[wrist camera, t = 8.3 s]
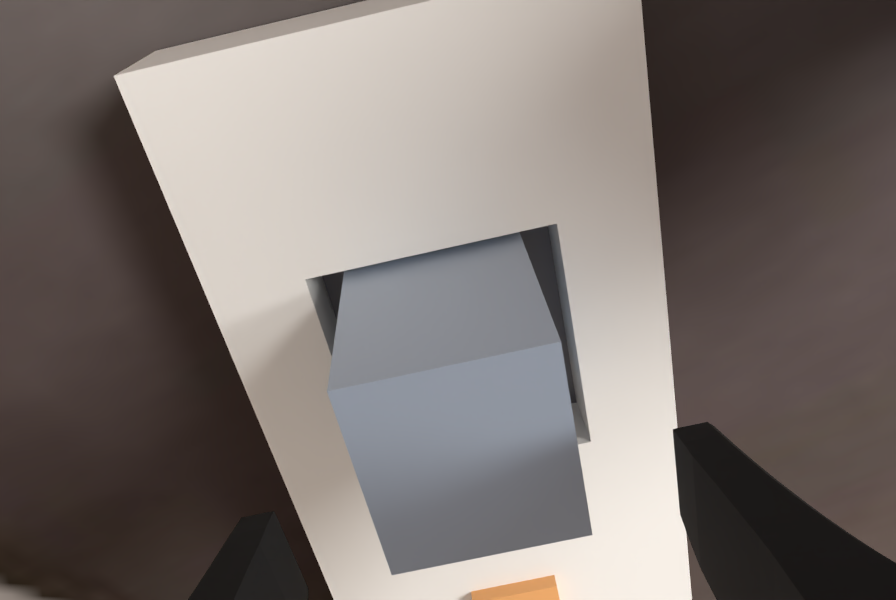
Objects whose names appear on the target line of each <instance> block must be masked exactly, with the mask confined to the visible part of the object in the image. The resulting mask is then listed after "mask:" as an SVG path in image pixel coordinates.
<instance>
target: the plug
mask: <svg viewBox="0 0 896 600" xmlns="http://www.w3.org/2000/svg"><path fill="white" fill-rule="evenodd" d="M327 393H328V396H329V399H330V402H331V404H332V407H333V410H334V413H335V416H336V419H337V421H338V424H339V427H340V430H341V433H342V436H343V438H344V441H345V444H346V447H347V450H348V453H349V455H350V458H351V461H352V464H353V467H354V470H355V472H356V475H357V478H358V481H359V484H360V487H361V489H362V492H363V495H364V498H365V501H366V504H367V506H368V509H369V512H370V515H371V518H372V521H373V523H374V526H375V529H376V532H377V535H378V538H379V540H380V543H381V546H382V549H383V552H384V555H385V557H386V560H387V563H388V566H389V569H390V572H391V574H392V575H396V574H401V573H406V572H411V571H416V570H421V569H426V568H431V567H436V566H441V565H446V564H451V563H456V562H461V561H466V560H471V559H476V558H481V557H486V556H491V555H496V554H501V553H506V552H511V551H516V550H521V549H526V548H531V547H536V546H541V545H546V544H551V543H556V542H560V541H565V540H570V539H575V538H580V537H585V536H590V535H593V534H592V528H591V522H590V516H589V510H588V504H587V498H586V491H585V485H584V479H583V473H582V467H581V461H580V455H579V449H578V442H577V436H576V430H575V424H574V418H573V412H572V406H571V399H570V393H569V387H568V381H567V375H566V369H565V363H564V357H563V350H562V344H561V340H560V338H559V335H558V332H557V330H556V327H555V324H554V322H553V319H552V317H551V314H550V311H549V309H548V306H547V303H546V301H545V298H544V295H543V293H542V290H541V288H540V285H539V282H538V280H537V277H536V274H535V272H534V269H533V267H532V264H531V261H530V259H529V256H528V253H527V251H526V248H525V246H524V243H523V240H522V238H521V235H520V232H517V233H512V234H508V235H503V236H499V237H494V238H490V239H485V240H481V241H476V242H472V243H467V244H463V245H458V246H454V247H449V248H445V249H440V250H436V251H431V252H427V253H422V254H418V255H413V256H409V257H404V258H400V259H395V260H391V261H386V262H382V263H377V264H373V265H368V266H364V267H359V268H355V269H350V270H346V271H344V276H343V283H342V290H341V297H340V304H339V311H338V318H337V325H336V332H335V339H334V346H333V353H332V360H331V367H330V374H329V381H328V388H327Z"/></svg>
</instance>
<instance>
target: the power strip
mask: <svg viewBox="0 0 896 600" xmlns="http://www.w3.org/2000/svg"><path fill="white" fill-rule="evenodd" d="M114 78H115V80H116V83H117V85H118V88H119V90H120V92H121V95H122V97H123V99H124V102H125V104H126V107H127V109H128V111H129V114H130V116H131V118H132V121H133V123H134V126H135V128H136V130H137V133H138V135H139V138H140V140H141V142H142V145H143V147H144V149H145V152H146V154H147V157H148V159H149V161H150V164H151V166H152V168H153V171H154V173H155V176H156V178H157V180H158V183H159V185H160V188H161V190H162V192H163V195H164V197H165V199H166V202H167V204H168V207H169V209H170V211H171V214H172V216H173V218H174V221H175V223H176V226H177V228H178V230H179V233H180V235H181V237H182V240H183V242H184V245H185V247H186V249H187V252H188V254H189V257H190V259H191V261H192V264H193V266H194V268H195V271H196V273H197V276H198V278H199V280H200V283H201V285H202V287H203V290H204V292H205V295H206V297H207V299H208V302H209V304H210V306H211V309H212V311H213V314H214V316H215V318H216V321H217V323H218V326H219V328H220V330H221V333H222V335H223V337H224V340H225V342H226V345H227V347H228V349H229V352H230V354H231V356H232V359H233V361H234V364H235V366H236V368H237V371H238V373H239V376H240V378H241V380H242V383H243V385H244V387H245V390H246V392H247V395H248V397H249V399H250V402H251V404H252V406H253V409H254V411H255V414H256V416H257V418H258V421H259V423H260V425H261V428H262V430H263V433H264V435H265V437H266V440H267V442H268V445H269V447H270V449H271V452H272V454H273V456H274V459H275V461H276V464H277V466H278V468H279V471H280V473H281V475H282V478H283V480H284V483H285V485H286V487H287V490H288V492H289V494H290V497H291V499H292V502H293V504H294V506H295V509H296V511H297V514H298V516H299V518H300V521H301V523H302V525H303V528H304V530H305V533H306V535H307V537H308V540H309V542H310V544H311V547H312V549H313V552H314V554H315V556H316V559H317V561H318V564H319V566H320V568H321V571H322V573H323V575H324V578H325V580H326V583H327V585H328V587H329V590H330V592H331V594H332V597H333V599H334V600H692V596H691V584H690V572H689V560H688V548H687V537H686V529H685V526H684V524H683V521H682V518H681V516H680V508H679V497H678V485H677V474H676V462H675V451H674V439H673V429H676V428H677V418H676V406H675V394H674V383H673V371H672V359H671V347H670V335H669V323H668V311H667V300H666V288H665V276H664V264H663V252H662V240H661V228H660V217H659V205H658V193H657V181H656V169H655V157H654V146H653V134H652V122H651V110H650V98H649V86H648V74H647V63H646V51H645V39H644V27H643V15H642V3H641V0H366V1H362V2H358V3H354V4H349V5H345V6H341V7H337V8H333V9H328V10H324V11H320V12H316V13H312V14H308V15H303V16H299V17H295V18H291V19H287V20H282V21H278V22H274V23H270V24H266V25H261V26H257V27H253V28H249V29H245V30H241V31H236V32H232V33H228V34H224V35H220V36H215V37H211V38H207V39H203V40H199V41H195V42H190V43H186V44H182V45H178V46H174V47H169V48H165V49H161V50H157V51H155V52H153V53H151V54H150V55H148V56H146V57H145V58H143V59H141V60H140V61H138V62H136V63H134V64H133V65H131V66H129V67H128V68H126V69H124V70H123V71H121V72H119V73H118V74H116V75H114ZM517 232H520V235H521V238H522V240H523V243H524V246H525V248H526V251H527V253H528V256H529V259H530V261H531V264H532V267H533V269H534V272H535V274H536V277H537V280H538V282H539V285H540V288H541V290H542V293H543V295H544V298H545V301H546V303H547V306H548V309H549V311H550V314H551V317H552V319H553V322H554V324H555V327H556V330H557V332H558V335H559V338H560V340H561V344H562V350H563V357H564V363H565V369H566V375H567V381H568V387H569V393H570V399H571V406H572V412H573V418H574V424H575V430H576V436H577V442H578V449H579V455H580V461H581V467H582V473H583V479H584V485H585V491H586V498H587V504H588V510H589V516H590V522H591V528H592V534H593V535H590V536H585V537H580V538H575V539H570V540H565V541H560V542H556V543H551V544H546V545H541V546H536V547H531V548H526V549H521V550H516V551H511V552H506V553H501V554H496V555H491V556H486V557H481V558H476V559H471V560H466V561H461V562H456V563H451V564H446V565H441V566H436V567H431V568H426V569H421V570H416V571H411V572H406V573H401V574H396V575H392V574H391V572H390V569H389V566H388V563H387V560H386V557H385V555H384V552H383V549H382V546H381V543H380V540H379V538H378V535H377V532H376V529H375V526H374V523H373V521H372V518H371V515H370V512H369V509H368V506H367V504H366V501H365V498H364V495H363V492H362V489H361V487H360V484H359V481H358V478H357V475H356V472H355V470H354V467H353V464H352V461H351V458H350V455H349V453H348V450H347V447H346V444H345V441H344V438H343V436H342V433H341V430H340V427H339V424H338V421H337V419H336V416H335V413H334V410H333V407H332V404H331V402H330V399H329V396H328V393H327V388H328V381H329V374H330V367H331V360H332V353H333V346H334V339H335V332H336V325H337V318H338V311H339V304H340V297H341V290H342V283H343V276H344V271H346V270H350V269H355V268H359V267H364V266H368V265H373V264H377V263H382V262H386V261H391V260H395V259H400V258H404V257H409V256H413V255H418V254H422V253H427V252H431V251H436V250H440V249H445V248H449V247H454V246H458V245H463V244H467V243H472V242H476V241H481V240H485V239H490V238H494V237H499V236H503V235H508V234H512V233H517Z"/></svg>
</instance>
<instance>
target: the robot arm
mask: <svg viewBox="0 0 896 600" xmlns="http://www.w3.org/2000/svg"><path fill="white" fill-rule="evenodd" d="M673 439H674V451H675V462H676V474H677V485H678V497H679V508H680V516H681V518H682V521H683V524H684V526H685V529H686V532H687V534H688V537H689V540H690V542H691V545H692V548H693V550H694V553H695V555H696V558H697V560H698V563H699V565H700V568H701V570H702V572H703V574H704V576H705V578H706V580H707V582H708V584H709V586H710V588H711V590H712V592H713V593H714V595H715V597H716V599H717V600H896V563H895V562H893V561H891V560H890V559H888V558H886V557H885V556H883V555H882V554H880V553H878V552H877V551H875V550H874V549H872V548H870V547H869V546H867V545H866V544H864V543H863V542H861V541H860V540H858V539H857V538H855V537H854V536H852V535H851V534H849V533H848V532H846V531H845V530H843V529H842V528H841V527H839V526H838V525H836V524H835V523H833V522H832V521H830V520H829V519H828V518H826V517H825V516H823V515H822V514H821V513H819V512H818V511H817V510H815V509H814V508H812V507H811V506H810V505H808V504H807V503H806V502H804V501H803V500H802V499H801V498H799V497H798V496H797V495H795V494H794V493H793V492H791V491H790V490H789V489H788V488H786V487H785V486H784V485H782V484H781V483H780V482H779V481H777V480H776V479H775V478H774V477H772V476H771V475H770V474H769V473H767V472H766V471H765V470H764V469H763V468H761V467H760V466H759V465H758V464H757V463H755V462H754V461H753V460H752V459H751V458H749V457H748V456H747V455H746V454H745V453H744V452H742V451H741V450H740V449H739V448H738V447H737V446H736V445H734V444H733V443H732V442H731V441H730V440H729V439H728V438H726V437H725V436H724V435H723V434H722V433H721V432H720V431H719V430H718V429H716V428H715V427H714V426H713V425H711V424H710V423H708V422H705V423H700V424H695V425H691V426H686V427H681V428H676V429H673ZM188 600H308V587H307V585H306V582H305V580H304V578H303V575H302V573H301V571H300V569H299V566H298V564H297V562H296V560H295V557H294V555H293V553H292V551H291V548H290V546H289V544H288V541H287V539H286V537H285V535H284V532H283V530H282V528H281V526H280V523H279V521H278V519H277V517H276V514H275V512H274V511H272V512H268V513H263V514H258V515H253V516H248V517H243V518H241V519H240V521H239V522H238V524H237V525H236V527H235V528H234V530H233V531H232V533H231V534H230V536H229V537H228V539H227V541H226V542H225V544H224V545H223V547H222V548H221V550H220V551H219V553H218V555H217V556H216V558H215V559H214V561H213V562H212V564H211V565H210V567H209V569H208V570H207V572H206V573H205V575H204V576H203V578H202V579H201V581H200V582H199V584H198V586H197V587H196V589H195V590H194V592H193V593H192V595H191V596H190V597H189V599H188Z"/></svg>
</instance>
